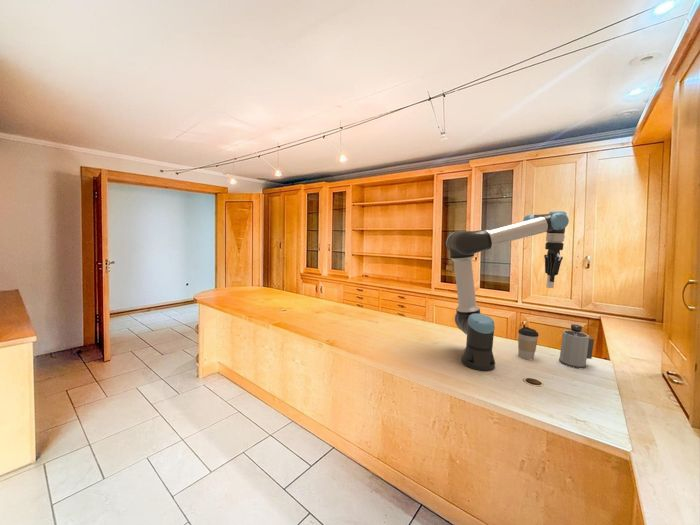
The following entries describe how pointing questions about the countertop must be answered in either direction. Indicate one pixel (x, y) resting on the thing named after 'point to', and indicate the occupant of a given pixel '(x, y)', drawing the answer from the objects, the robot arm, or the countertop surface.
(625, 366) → the countertop surface
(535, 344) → the coffee cup
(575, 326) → the plunger
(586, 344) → the press beaker
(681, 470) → the countertop surface
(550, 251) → the robot arm
